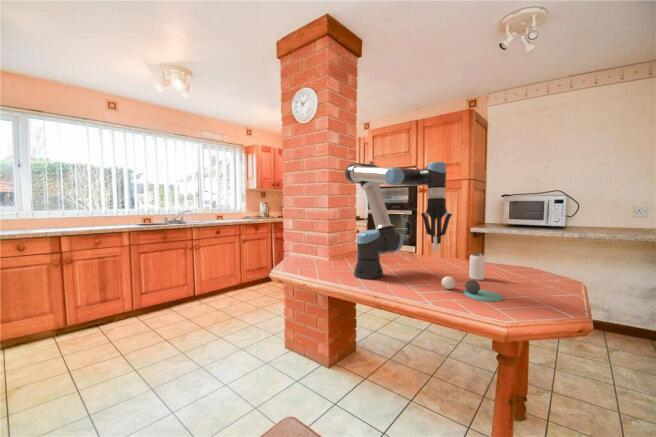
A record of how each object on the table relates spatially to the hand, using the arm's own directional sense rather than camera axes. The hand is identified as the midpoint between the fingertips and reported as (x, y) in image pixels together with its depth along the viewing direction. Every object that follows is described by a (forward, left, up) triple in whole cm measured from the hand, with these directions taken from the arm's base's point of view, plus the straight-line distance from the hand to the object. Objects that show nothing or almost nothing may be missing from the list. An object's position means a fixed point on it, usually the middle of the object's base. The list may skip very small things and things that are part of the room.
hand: (435, 250), depth 122 cm
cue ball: (+3, +4, -14) cm, 15 cm away
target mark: (+12, +14, -16) cm, 25 cm away
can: (-11, +26, -17) cm, 32 cm away
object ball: (+10, +11, -14) cm, 20 cm away
